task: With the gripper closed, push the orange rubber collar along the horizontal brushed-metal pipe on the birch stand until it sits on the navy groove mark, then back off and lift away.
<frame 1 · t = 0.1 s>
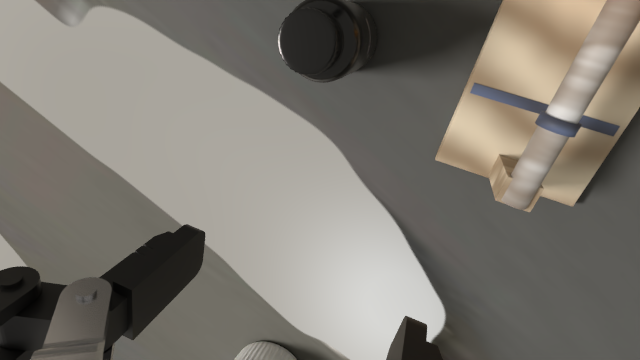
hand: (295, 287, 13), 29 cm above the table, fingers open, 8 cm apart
supplement bottle: (345, 37, 38), on the table
pipe stand: (574, 41, 32), on the table
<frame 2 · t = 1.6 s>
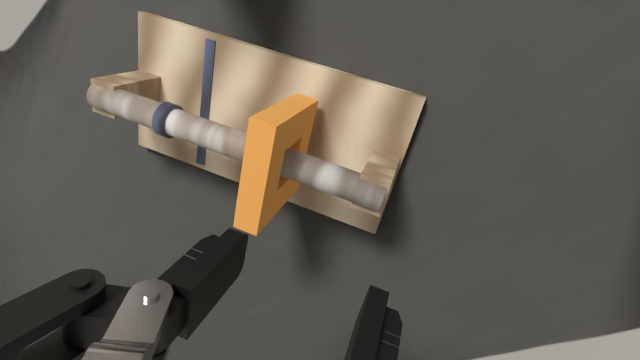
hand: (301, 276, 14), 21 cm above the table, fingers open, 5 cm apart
collar: (278, 159, 30), point 7 cm above the table, slide at -4.5 cm
pipe stand: (263, 122, 36), on the table
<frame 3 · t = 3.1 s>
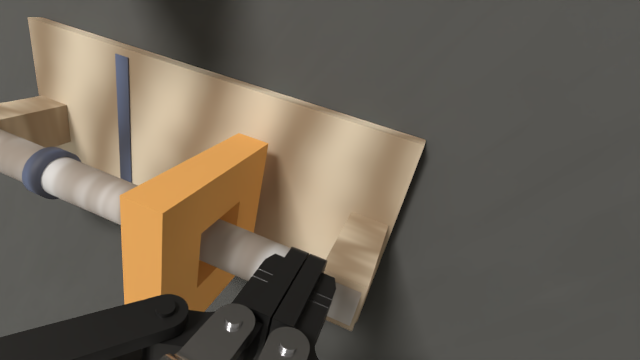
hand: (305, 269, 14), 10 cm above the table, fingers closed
collar: (203, 236, 20), point 6 cm above the table, slide at -4.5 cm
pipe stand: (203, 167, 26), on the table
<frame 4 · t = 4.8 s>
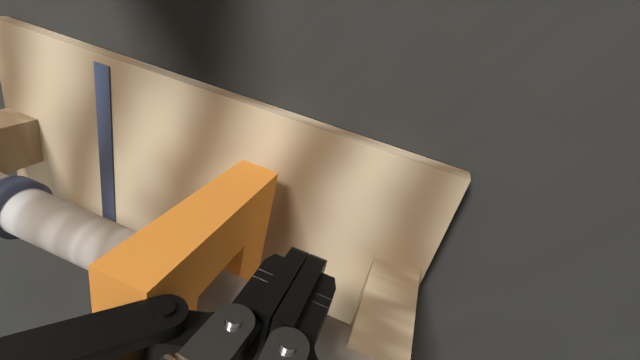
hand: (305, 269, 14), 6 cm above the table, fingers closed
collar: (199, 289, 16), point 7 cm above the table, slide at -4.5 cm, touching hand
pipe stand: (199, 194, 23), on the table
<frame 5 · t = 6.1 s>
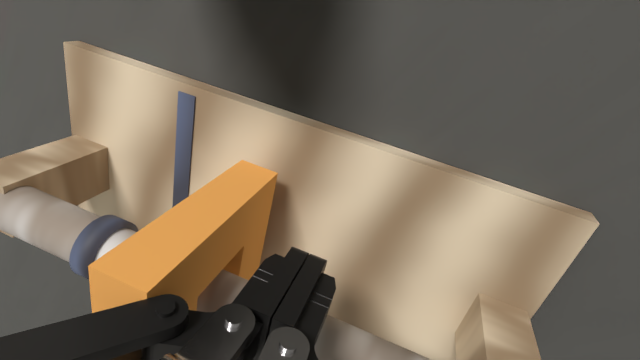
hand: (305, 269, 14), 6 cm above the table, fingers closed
collar: (199, 289, 16), point 7 cm above the table, slide at 1.0 cm, touching hand
pipe stand: (277, 225, 22), on the table
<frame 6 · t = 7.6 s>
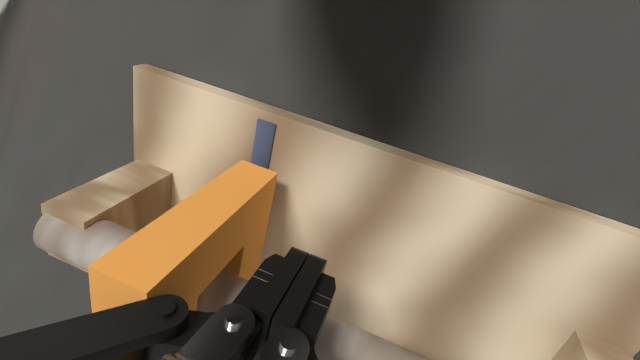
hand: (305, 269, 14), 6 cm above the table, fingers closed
collar: (199, 290, 16), point 6 cm above the table, slide at 5.6 cm, touching hand
pipe stand: (350, 254, 21), on the table
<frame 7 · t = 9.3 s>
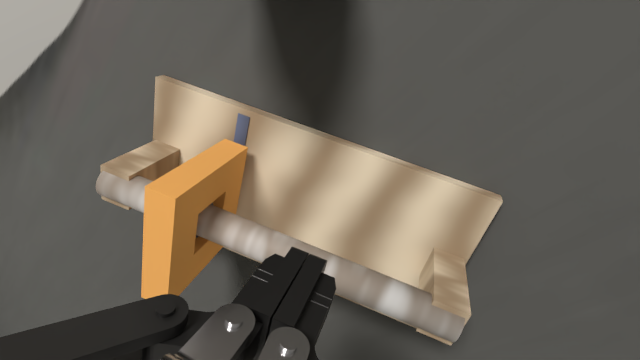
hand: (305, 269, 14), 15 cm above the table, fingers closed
collar: (198, 217, 26), point 7 cm above the table, slide at 5.8 cm
pipe stand: (300, 204, 31), on the table
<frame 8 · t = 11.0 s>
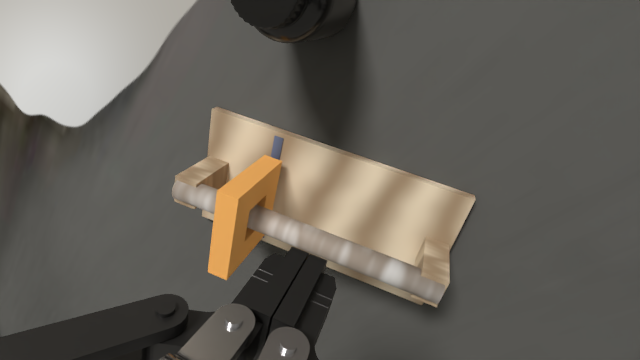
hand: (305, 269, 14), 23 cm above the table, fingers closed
collar: (246, 213, 36), point 6 cm above the table, slide at 5.8 cm
pipe stand: (321, 205, 40), on the table
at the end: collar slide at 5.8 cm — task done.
